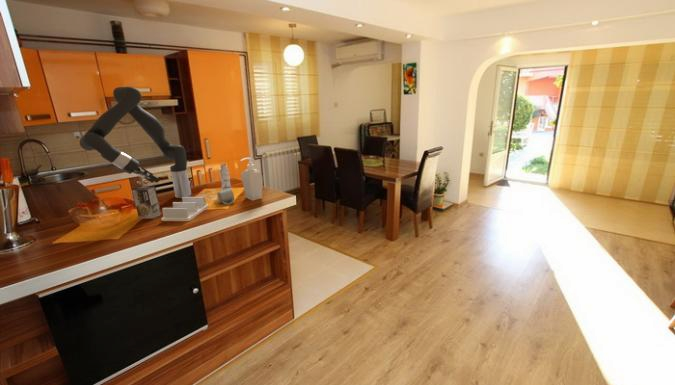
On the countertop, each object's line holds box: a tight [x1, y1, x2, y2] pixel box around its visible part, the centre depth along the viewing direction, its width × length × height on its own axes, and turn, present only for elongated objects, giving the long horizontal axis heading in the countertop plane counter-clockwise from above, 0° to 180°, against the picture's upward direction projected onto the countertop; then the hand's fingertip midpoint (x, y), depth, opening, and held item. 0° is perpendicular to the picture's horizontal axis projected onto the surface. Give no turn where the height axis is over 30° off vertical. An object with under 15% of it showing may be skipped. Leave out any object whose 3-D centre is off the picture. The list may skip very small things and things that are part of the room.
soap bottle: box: [239, 156, 264, 201], centre depth 190 cm, size 12×10×26 cm
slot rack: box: [160, 196, 209, 222], centre depth 169 cm, size 21×15×6 cm
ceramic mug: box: [217, 189, 235, 206], centre depth 186 cm, size 11×8×8 cm
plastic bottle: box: [218, 163, 233, 191], centre depth 200 cm, size 6×7×20 cm
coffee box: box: [131, 186, 162, 219], centre depth 165 cm, size 9×6×16 cm
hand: (155, 181), depth 164 cm, fingers open, 8 cm apart
